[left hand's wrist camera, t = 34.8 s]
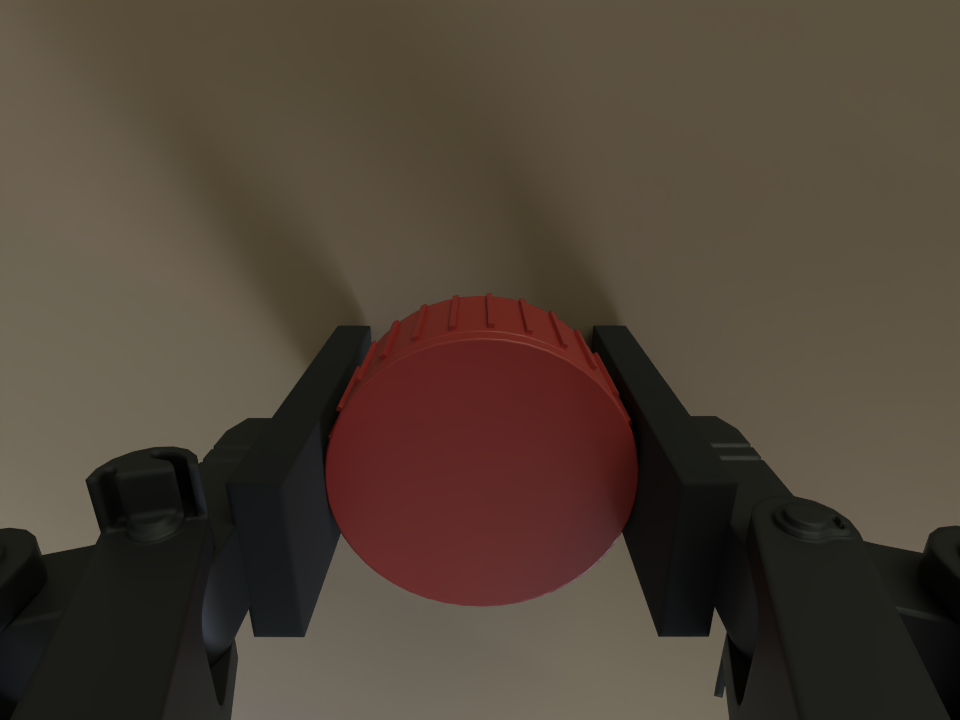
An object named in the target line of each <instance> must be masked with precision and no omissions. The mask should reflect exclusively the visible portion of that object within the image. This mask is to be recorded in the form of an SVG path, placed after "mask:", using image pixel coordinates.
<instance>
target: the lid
mask: <svg viewBox="0 0 960 720" xmlns="http://www.w3.org/2000/svg"><path fill="white" fill-rule="evenodd" d="M618 395H619V393H618V391H617V389H616V387H615V385H614V383H613V381H612V379H611V377H610V375H609V374H608V372H607V370H606V368H605V366H604V364H603V362H602V360H601V358H600V356H599V355H598V353H597V352H596V353H594V354H593V353H592V352H591V350H590V349H589V347H588V346H587V345H586V343H585V341H584V339H583V337H582V335H581V333H580V331H579V330H578V329H576V330H575V331H573V330H572V329H571V328H570V327H568V326H567V325H566V324H565V323H564V322H562V321H560V320H559V319H557V316H556V314H555V313H554V312H553V311H550V312H549V313H548V312H546V311H543V310H541V309H539V308H537V307H535V306H532V305H529V304H526V301H525V300H524V299H521V298H520V300H519V301H517V300H512V299H507V298H501V297H492V294H491V293H487V294H486V296H473V297H461V298H459V295H455V296H453V299H451V300H446V301H442V302H439V303H436V304H433V305H430V306H427V305H426V304H424V305H422V306H421V308H420V310H419V311H417V312H415V313H413V314H411V315H409V316H408V317H406V318H405V319H403V320H402V321H400V322H399V321H398V320H396V321H395V322H393V324H392V327H391V329H390V330H389V331H388V332H387V333H386V334H385V335H384V336H383V337H382V338H381V339H380V340H379V342H378V343H377V342H375V341H373V343H372V344H371V346H370V348H369V350H368V352H367V354H366V356H365V358H364V360H363V362H362V364H361V367H360V366H357V368H356V370H355V372H354V374H353V376H352V378H351V380H350V382H349V384H348V386H347V388H346V390H345V392H344V394H343V396H342V398H341V401H340V403H339V405H338V407H337V409H336V410H337V411H339V412H340V414H339V416H338V418H337V420H336V422H335V424H334V426H333V428H332V430H331V432H330V434H329V443H328V446H327V450H326V459H325V467H324V469H325V487H326V492H327V497H328V502H329V505H330V508H331V511H332V514H333V517H334V520H335V522H336V523H337V525H338V527H339V529H340V531H341V533H342V535H343V536H344V538H345V539H346V541H347V542H348V543H349V545H350V546H351V548H352V549H353V550H354V551H355V552H356V553H357V554H358V556H359V557H360V558H361V559H362V560H363V561H364V562H365V563H366V564H367V565H369V566H370V567H371V568H372V569H373V570H375V571H376V572H377V573H378V574H380V575H381V576H383V577H384V578H386V579H387V580H389V581H390V582H392V583H393V584H395V585H397V586H399V587H401V588H403V589H405V590H407V591H409V592H412V593H414V594H417V595H420V596H422V597H425V598H428V599H432V600H436V601H440V602H444V603H450V604H456V605H463V606H498V605H506V604H512V603H519V602H523V601H526V600H530V599H534V598H537V597H540V596H543V595H545V594H548V593H550V592H553V591H555V590H557V589H559V588H561V587H563V586H565V585H567V584H569V583H571V582H572V581H574V580H575V579H577V578H578V577H580V576H581V575H583V574H584V573H586V572H587V571H588V570H589V569H590V568H591V567H593V566H594V565H595V564H596V563H597V562H599V561H600V559H601V558H602V557H603V556H604V555H605V554H606V553H607V552H608V551H609V550H610V549H611V547H612V546H613V544H614V543H615V542H616V540H617V539H618V537H619V536H620V535H621V533H622V531H623V529H624V527H625V525H626V523H627V521H628V519H629V517H630V514H631V511H632V508H633V506H634V503H635V499H636V493H637V488H638V477H639V462H638V454H637V447H636V444H635V440H634V436H633V433H632V430H631V428H630V425H632V421H631V419H630V417H629V415H628V413H627V411H626V409H625V407H624V405H623V403H622V401H621V400H620V398H619V396H618Z"/></svg>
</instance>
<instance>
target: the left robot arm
mask: <svg viewBox="0 0 960 720" xmlns="http://www.w3.org/2000/svg"><path fill="white" fill-rule="evenodd" d="M370 346H371V331H370V326H338V327H337V328H336V330H335V331H334V332H333V334H332V335H331V337H330V338H329V339H328V341H327V342H326V344H325V345H324V346H323V348H322V349H321V350H320V352H319V353H318V355H317V356H316V357H315V359H314V360H313V362H312V363H311V364H310V366H309V367H308V369H307V370H306V371H305V373H304V374H303V375H302V377H301V378H300V380H299V381H298V382H297V384H296V385H295V387H294V388H293V389H292V391H291V392H290V393H289V395H288V396H287V398H286V399H285V400H284V402H283V403H282V405H281V406H280V407H279V409H278V410H277V412H276V413H275V414H274V416H273V417H272V418H247V419H246V420H244V421H242V422H241V423H239V424H238V425H236V426H234V427H233V428H231V429H229V430H228V431H226V432H225V434H224V435H223V436H222V437H221V438H220V439H219V441H218V442H217V443H216V444H215V445H214V449H211V450H210V451H209V453H208V454H207V455H206V456H205V457H204V459H203V462H200V463H199V464H198V459H197V456H196V455H195V454H194V453H192V452H191V451H190V450H188V449H183V448H178V447H153V448H148V449H143V450H139V451H134V452H131V453H128V454H125V455H123V456H120V457H117V458H115V459H112V460H110V461H109V462H107V463H105V464H104V465H102V466H100V467H99V468H97V469H96V470H95V471H94V472H93V473H92V474H91V475H90V476H89V477H88V478H87V479H86V484H87V487H88V491H89V494H90V498H91V501H92V504H93V508H94V511H95V515H96V518H97V521H98V525H99V528H100V532H101V534H100V536H99V538H98V540H97V542H96V544H95V545H91V546H87V547H82V548H77V549H71V550H66V551H61V552H56V553H51V554H46V555H42V554H41V551H40V548H39V546H38V543H37V540H36V537H35V536H34V535H33V534H31V533H30V532H29V531H27V530H24V529H15V528H4V529H0V720H231V713H232V705H233V696H234V688H235V679H236V671H237V662H238V655H237V648H236V643H235V636H236V634H237V632H238V630H239V628H240V626H241V624H242V622H243V619H244V617H245V615H246V613H247V611H248V609H249V612H250V617H251V623H252V628H253V633H254V637H305V634H306V631H307V628H308V625H309V622H310V619H311V617H312V614H313V611H314V608H315V605H316V602H317V599H318V597H319V594H320V591H321V588H322V585H323V582H324V579H325V577H326V574H327V571H328V568H329V565H330V562H331V559H332V557H333V554H334V551H335V548H336V545H337V542H338V539H339V537H340V534H341V531H340V529H339V527H338V525H337V523H336V522H335V520H334V517H333V514H332V511H331V508H330V505H329V502H328V497H327V492H326V487H325V469H324V467H325V459H326V450H327V446H328V443H329V434H330V432H331V430H332V428H333V426H334V424H335V422H336V420H337V418H338V416H339V414H340V412H339V411H337V410H336V409H337V407H338V405H339V403H340V401H341V398H342V396H343V394H344V392H345V390H346V388H347V386H348V384H349V382H350V380H351V378H352V376H353V374H354V372H355V370H356V368H357V366H360V367H361V364H362V362H363V360H364V358H365V356H366V354H367V352H368V350H369V348H370ZM596 352H597V353H598V355H599V356H600V358H601V360H602V362H603V364H604V366H605V368H606V370H607V372H608V374H609V375H610V377H611V379H612V381H613V383H614V385H615V387H616V389H617V391H618V393H619V395H618V396H619V398H620V400H621V401H622V403H623V405H624V407H625V409H626V411H627V413H628V415H629V417H630V419H631V421H632V425H630V428H631V430H632V433H633V436H634V440H635V444H636V447H637V454H638V462H639V477H638V488H637V493H636V499H635V503H634V506H633V508H632V511H631V514H630V517H629V519H628V521H627V523H626V525H625V527H624V529H623V531H622V533H623V536H624V539H625V541H626V544H627V547H628V550H629V553H630V556H631V559H632V562H633V564H634V567H635V570H636V573H637V576H638V579H639V582H640V585H641V587H642V590H643V593H644V596H645V599H646V602H647V605H648V607H649V610H650V613H651V616H652V619H653V622H654V625H655V628H656V630H657V633H658V636H659V637H709V633H710V628H711V623H712V617H713V612H714V607H715V608H716V610H717V612H718V614H719V616H720V618H721V620H722V622H723V624H724V626H725V628H726V630H727V633H726V638H725V643H724V648H723V652H722V657H721V662H720V667H719V672H718V677H717V681H716V687H715V694H714V696H717V697H723V692H724V687H725V686H726V695H727V703H728V712H729V720H960V526H948V527H940V528H937V529H936V530H935V531H933V532H932V533H930V534H929V537H928V540H927V543H926V546H925V548H924V551H923V553H919V552H914V551H909V550H904V549H899V548H894V547H889V546H884V545H878V544H874V543H870V542H866V541H863V539H862V537H861V535H860V533H859V532H858V530H857V529H856V528H855V527H854V525H853V524H852V523H851V522H850V520H848V519H847V518H845V517H844V516H842V515H841V514H840V513H838V512H837V511H835V510H834V509H831V508H829V507H827V506H825V505H822V504H820V503H818V502H815V501H812V500H808V499H803V498H799V497H795V496H793V495H792V493H791V492H790V491H789V490H788V489H787V487H786V486H785V485H784V484H783V483H782V481H781V480H780V479H779V478H778V477H777V476H776V474H775V473H774V472H773V471H772V470H771V468H770V467H769V466H768V465H767V464H766V462H765V461H764V460H761V457H760V455H759V454H758V453H757V452H756V451H755V449H754V448H753V447H750V443H749V442H748V441H747V440H746V439H745V438H744V436H743V435H742V434H741V433H740V432H739V430H738V429H736V428H735V427H733V426H731V425H730V424H728V423H726V422H725V421H723V420H721V419H720V418H718V417H716V416H690V415H689V413H688V412H687V411H686V409H685V408H684V406H683V405H682V404H681V402H680V401H679V400H678V398H677V397H676V395H675V394H674V393H673V391H672V390H671V388H670V387H669V386H668V384H667V383H666V381H665V380H664V379H663V377H662V376H661V374H660V373H659V372H658V370H657V369H656V368H655V366H654V365H653V363H652V362H651V361H650V359H649V358H648V356H647V355H646V354H645V352H644V351H643V349H642V348H641V347H640V345H639V344H638V342H637V341H636V340H635V338H634V337H633V336H632V334H631V333H630V331H629V330H628V329H627V327H626V326H594V327H593V340H592V353H593V354H594V353H596Z"/></svg>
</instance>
